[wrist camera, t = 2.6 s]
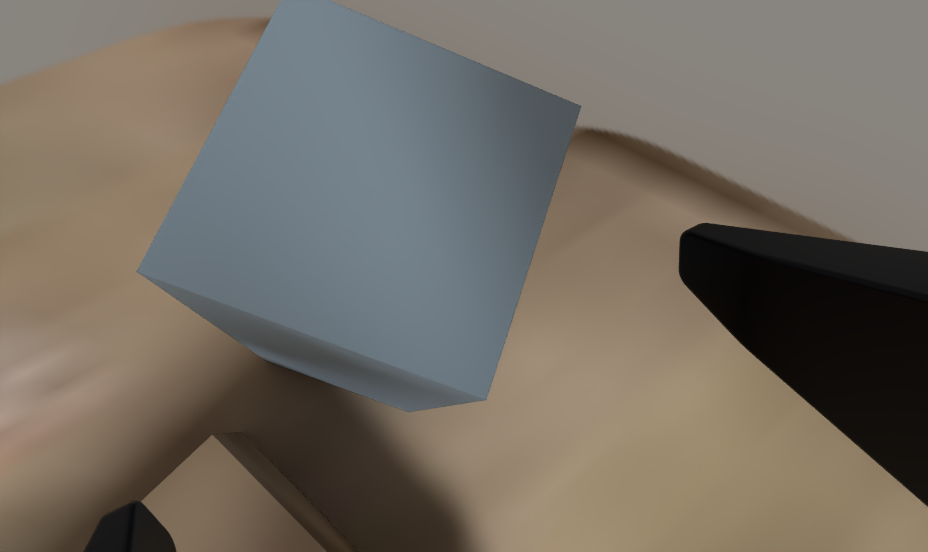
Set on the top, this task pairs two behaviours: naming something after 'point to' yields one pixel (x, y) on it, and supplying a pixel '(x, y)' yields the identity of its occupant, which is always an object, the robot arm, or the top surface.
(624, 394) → the top surface
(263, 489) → the base block
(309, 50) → the pillar
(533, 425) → the top surface
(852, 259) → the robot arm
